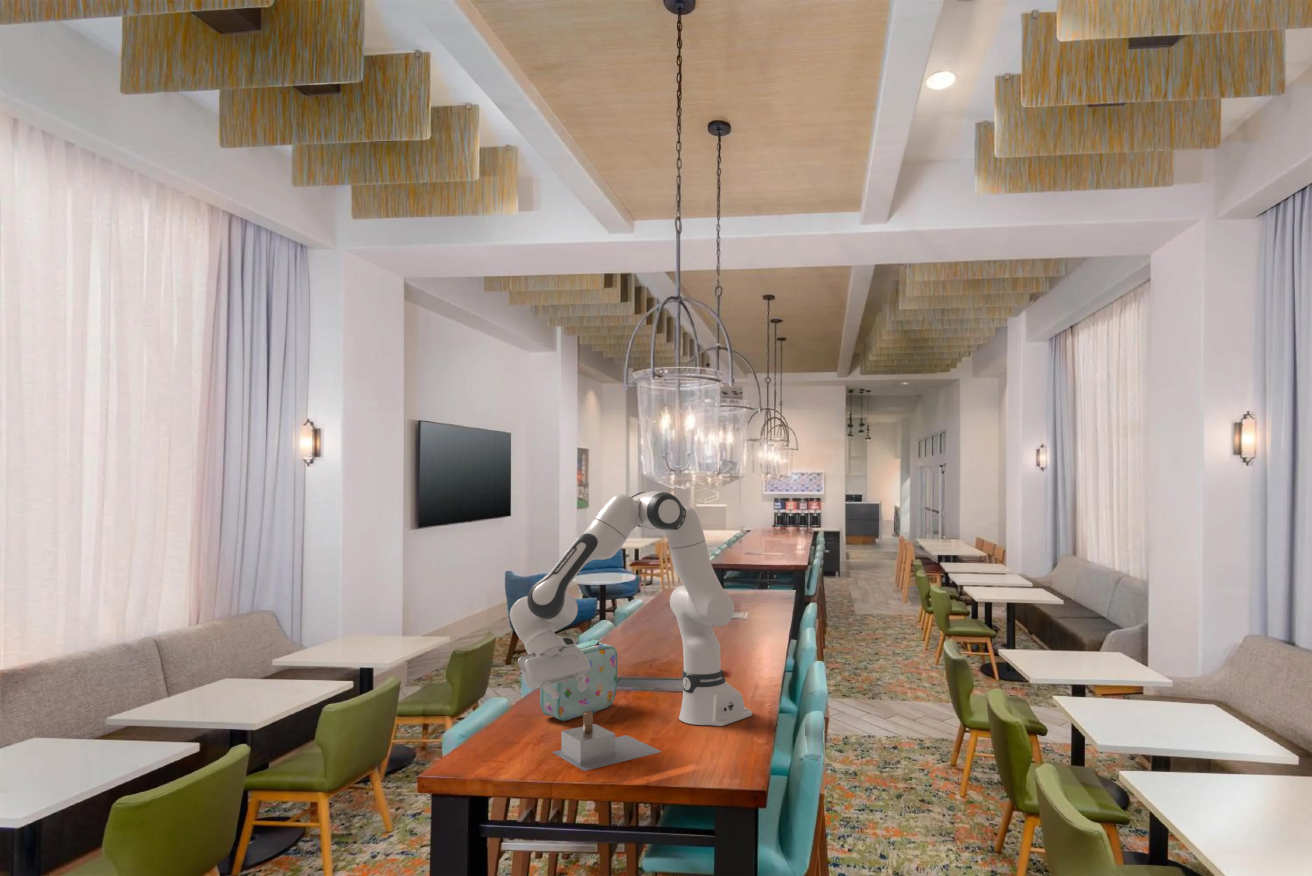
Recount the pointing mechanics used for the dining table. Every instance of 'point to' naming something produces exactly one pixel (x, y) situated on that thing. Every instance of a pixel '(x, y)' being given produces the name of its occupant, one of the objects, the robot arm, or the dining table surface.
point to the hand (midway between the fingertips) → (570, 693)
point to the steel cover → (588, 742)
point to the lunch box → (597, 681)
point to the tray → (619, 752)
